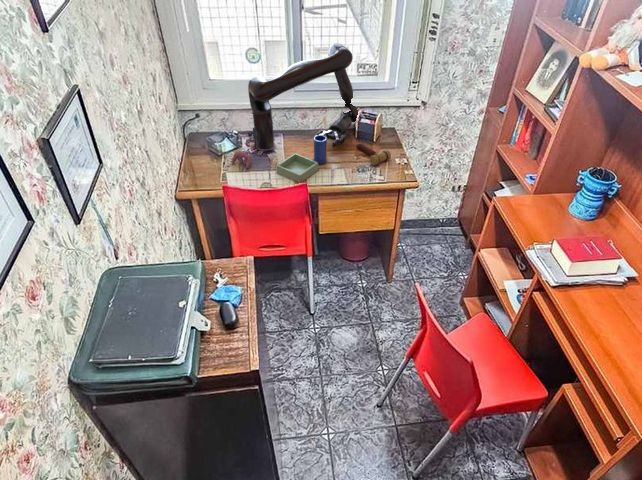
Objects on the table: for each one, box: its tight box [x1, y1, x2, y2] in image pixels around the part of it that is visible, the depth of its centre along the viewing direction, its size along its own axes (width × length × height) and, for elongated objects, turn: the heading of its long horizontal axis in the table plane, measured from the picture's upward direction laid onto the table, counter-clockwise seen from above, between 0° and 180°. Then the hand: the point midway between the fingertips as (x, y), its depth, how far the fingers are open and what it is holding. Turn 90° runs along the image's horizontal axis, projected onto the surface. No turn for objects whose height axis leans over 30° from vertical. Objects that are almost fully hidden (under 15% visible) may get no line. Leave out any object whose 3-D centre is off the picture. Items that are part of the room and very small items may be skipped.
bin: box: [275, 152, 319, 184], centre depth 220 cm, size 14×14×4 cm
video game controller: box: [231, 150, 254, 169], centre depth 223 cm, size 10×5×7 cm, turn 65°
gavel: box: [355, 143, 392, 166], centre depth 233 cm, size 21×5×10 cm
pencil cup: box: [313, 135, 328, 165], centre depth 224 cm, size 6×6×12 cm
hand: (325, 143), depth 227 cm, fingers open, 8 cm apart
